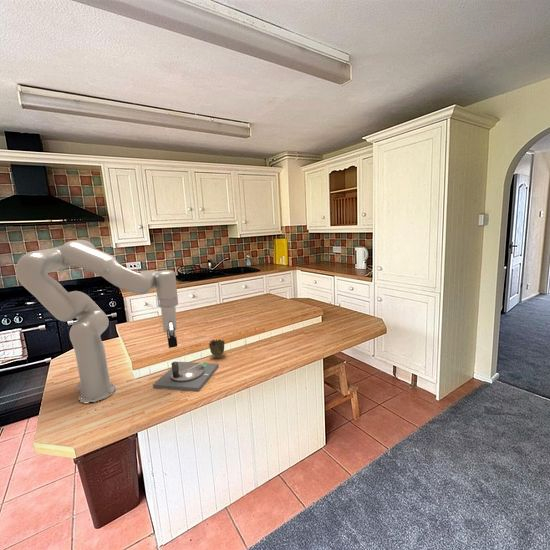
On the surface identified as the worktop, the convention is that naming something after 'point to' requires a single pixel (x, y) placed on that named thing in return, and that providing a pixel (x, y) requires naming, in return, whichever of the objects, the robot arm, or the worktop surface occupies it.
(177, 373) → the dial
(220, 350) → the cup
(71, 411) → the worktop surface
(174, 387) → the plate
